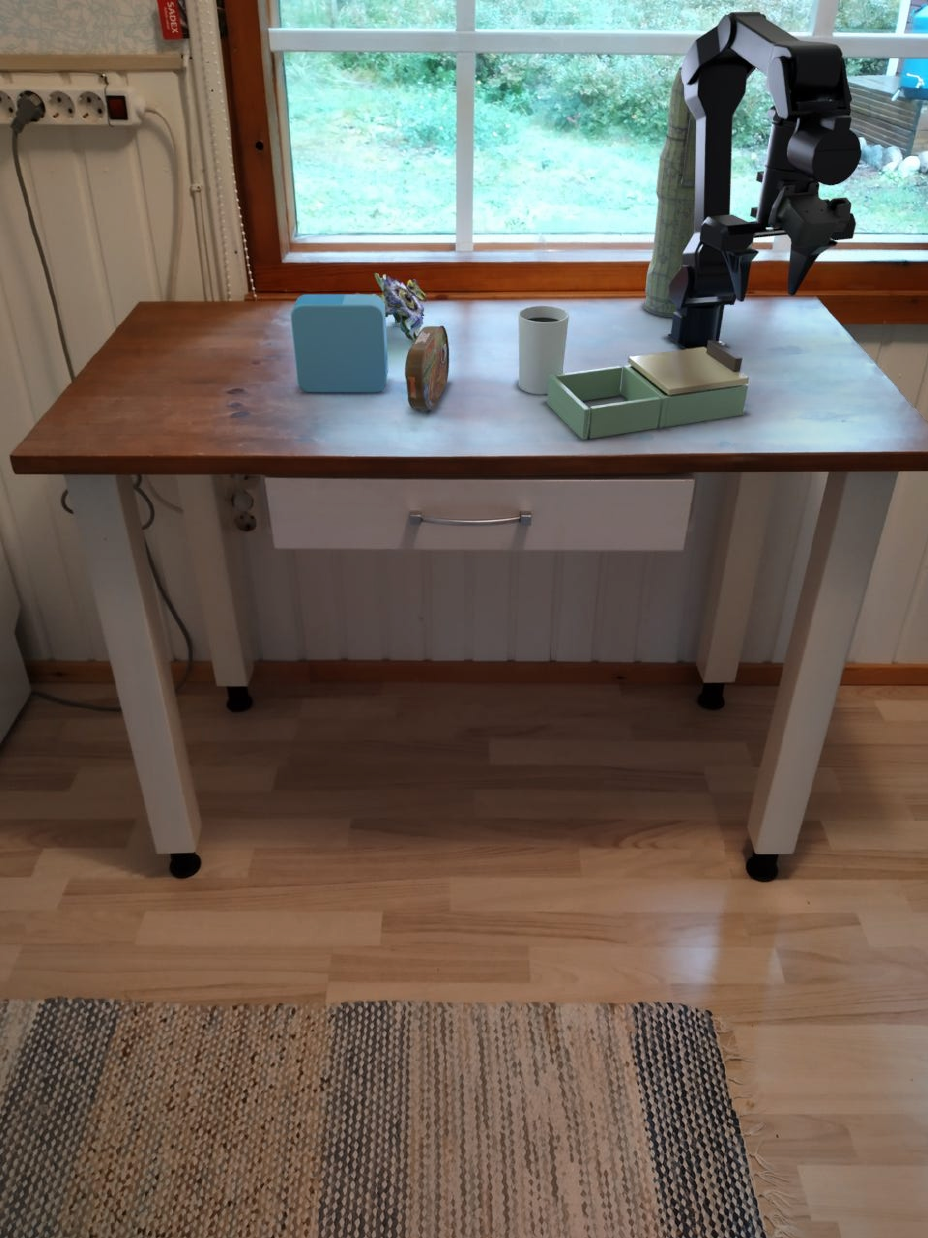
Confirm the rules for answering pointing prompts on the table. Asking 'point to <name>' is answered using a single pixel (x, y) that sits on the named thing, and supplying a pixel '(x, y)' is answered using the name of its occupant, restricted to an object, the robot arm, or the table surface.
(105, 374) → the table surface
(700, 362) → the sliding lid
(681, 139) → the thermos
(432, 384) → the tin
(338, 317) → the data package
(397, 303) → the passion flower
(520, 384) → the white cup
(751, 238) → the robot arm
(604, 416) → the storage box
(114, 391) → the table surface
